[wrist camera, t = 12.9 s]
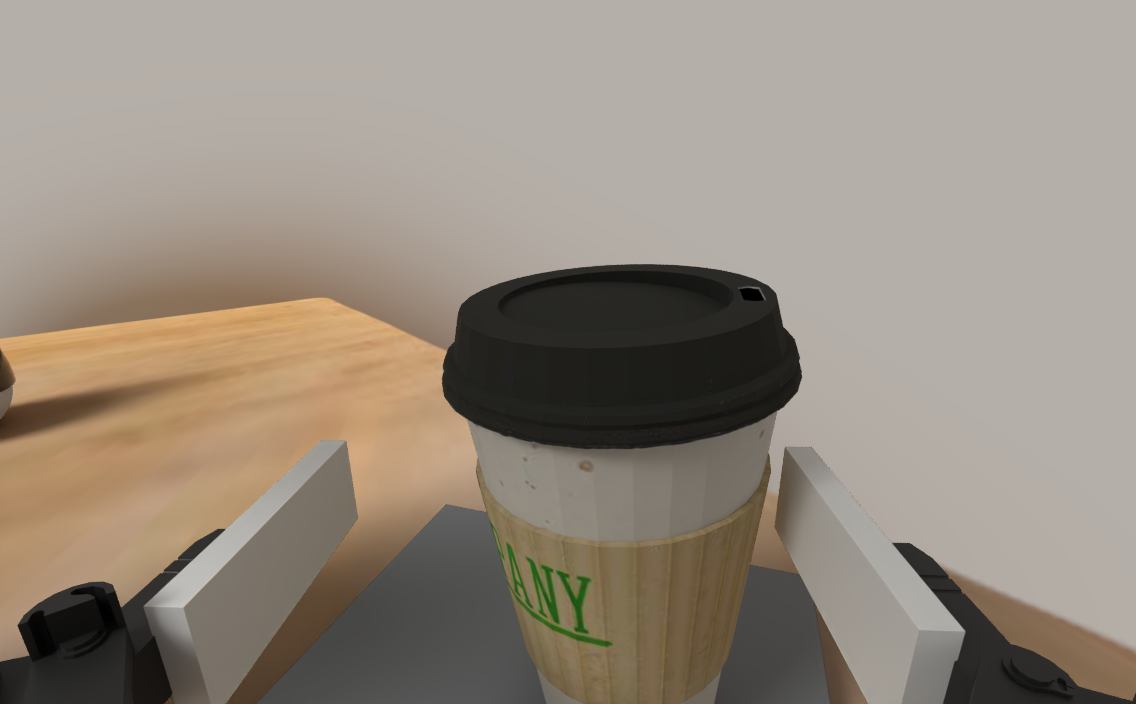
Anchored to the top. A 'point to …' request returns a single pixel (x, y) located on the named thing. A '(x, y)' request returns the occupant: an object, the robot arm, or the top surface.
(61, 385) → the top surface
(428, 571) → the mat
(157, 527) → the top surface
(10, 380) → the black egg shaped speaker
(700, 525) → the coffee cup
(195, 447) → the top surface
